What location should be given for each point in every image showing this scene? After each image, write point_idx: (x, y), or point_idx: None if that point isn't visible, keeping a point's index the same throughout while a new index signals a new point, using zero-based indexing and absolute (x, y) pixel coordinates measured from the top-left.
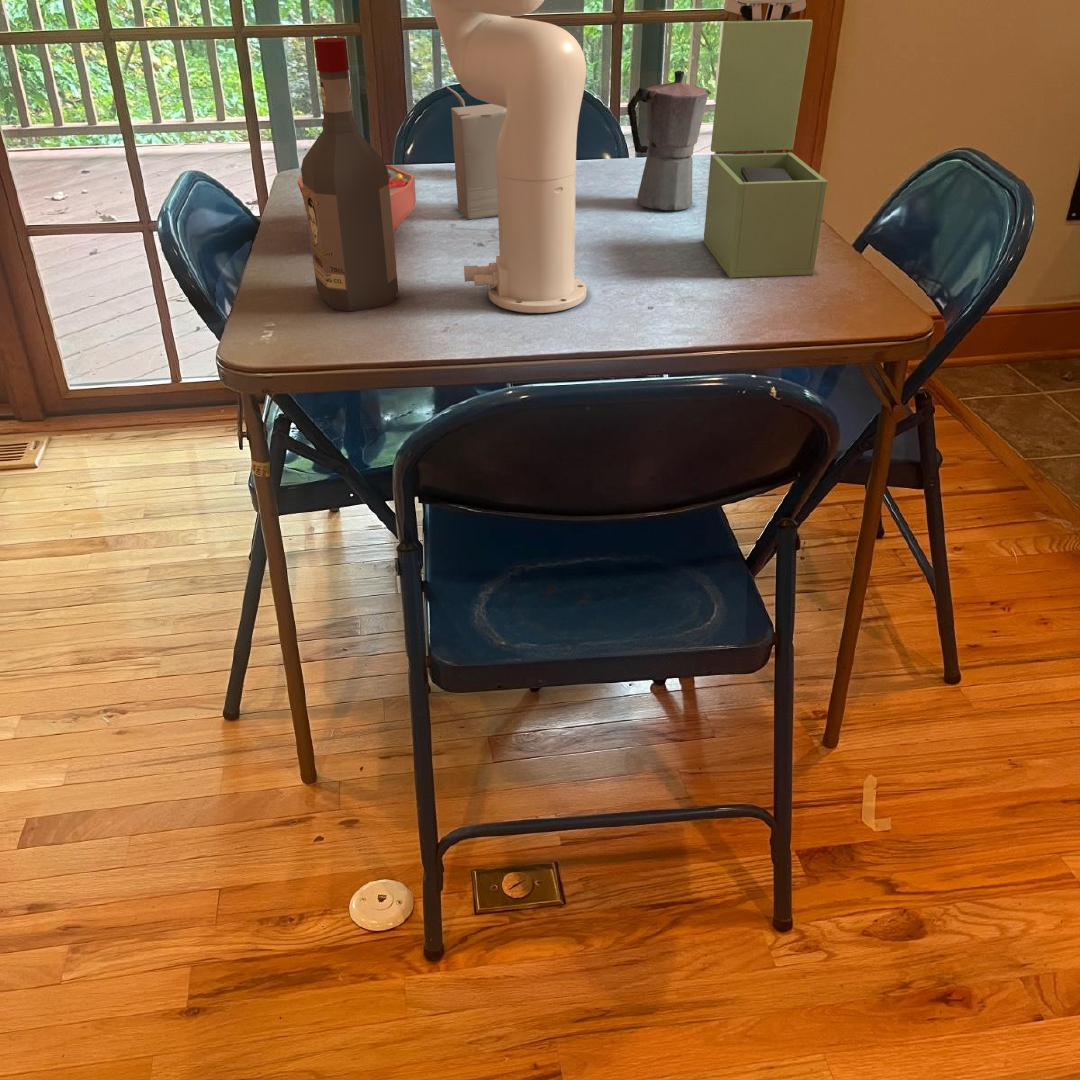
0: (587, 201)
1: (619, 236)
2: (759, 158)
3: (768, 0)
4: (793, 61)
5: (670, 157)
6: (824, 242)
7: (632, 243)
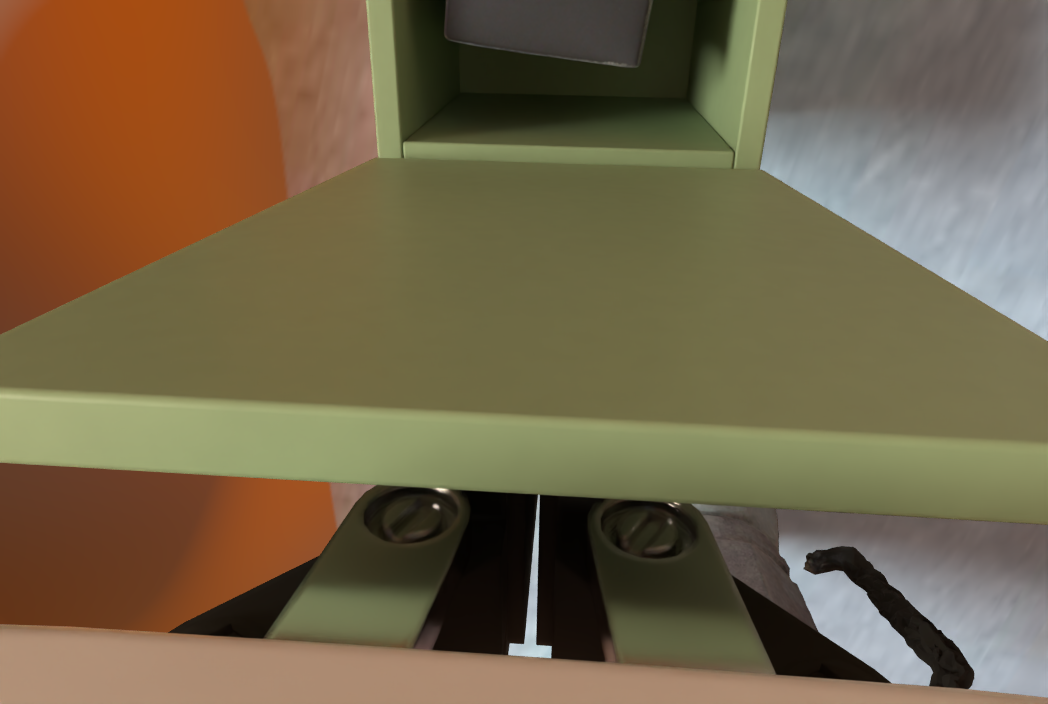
0: (892, 529)
1: (943, 210)
2: (533, 143)
3: (574, 665)
4: (287, 254)
5: (729, 518)
6: (314, 56)
7: (933, 133)
